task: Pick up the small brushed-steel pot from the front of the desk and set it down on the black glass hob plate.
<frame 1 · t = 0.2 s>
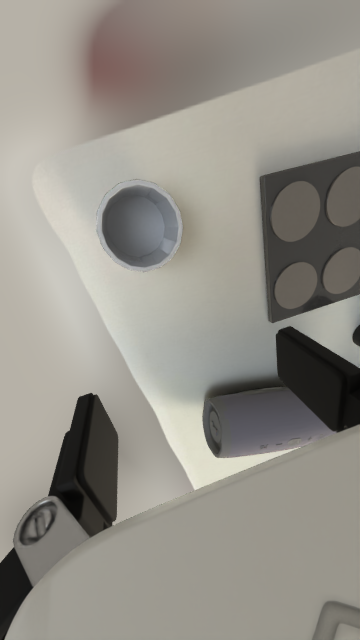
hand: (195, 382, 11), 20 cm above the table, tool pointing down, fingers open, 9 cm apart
pot: (136, 227, 26), on the table
hob: (314, 243, 33), on the table
bluetooth speaker: (257, 395, 42), on the table
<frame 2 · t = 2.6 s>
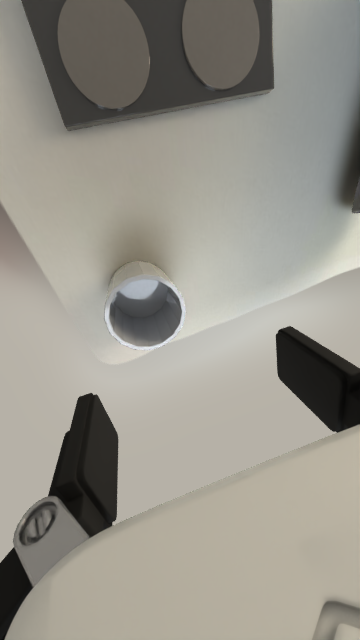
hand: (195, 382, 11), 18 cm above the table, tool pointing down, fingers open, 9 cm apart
pot: (140, 291, 27), on the table
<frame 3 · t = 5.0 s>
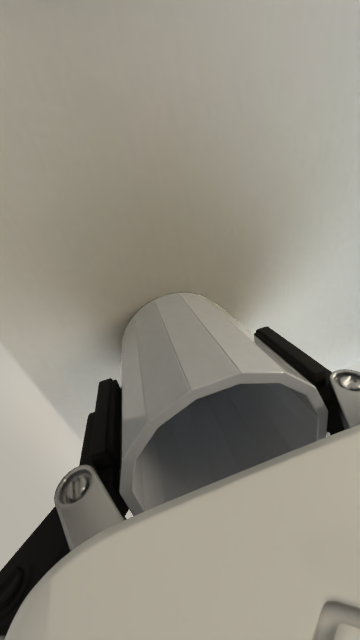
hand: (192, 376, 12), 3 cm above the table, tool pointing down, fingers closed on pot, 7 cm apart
pot: (178, 346, 15), on the table, touching gripper
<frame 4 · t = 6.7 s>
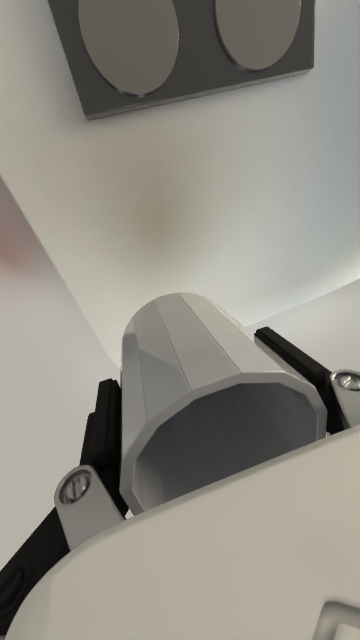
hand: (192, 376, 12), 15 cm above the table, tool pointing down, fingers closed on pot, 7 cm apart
pot: (178, 346, 15), point 12 cm above the table, touching gripper
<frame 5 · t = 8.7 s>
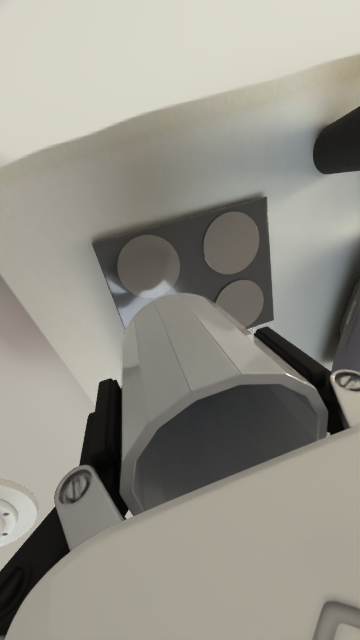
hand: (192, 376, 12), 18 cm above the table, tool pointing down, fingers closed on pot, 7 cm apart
pot: (178, 346, 15), point 14 cm above the table, touching gripper
drinking cup: (329, 150, 26), on the table
hob: (195, 286, 29), on the table
bluetooth speaker: (354, 305, 36), on the table
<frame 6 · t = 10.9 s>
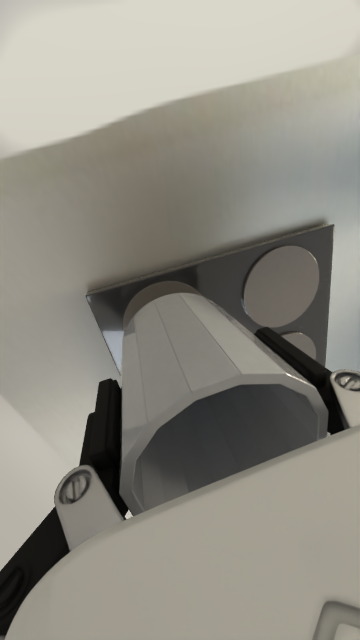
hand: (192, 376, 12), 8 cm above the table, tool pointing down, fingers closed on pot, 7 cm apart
pot: (178, 346, 15), point 5 cm above the table, touching gripper
hob: (227, 340, 21), on the table
when the fingers open (5 cm above the table, at t = 12.5 s): pot stays where it is, resting on hob.
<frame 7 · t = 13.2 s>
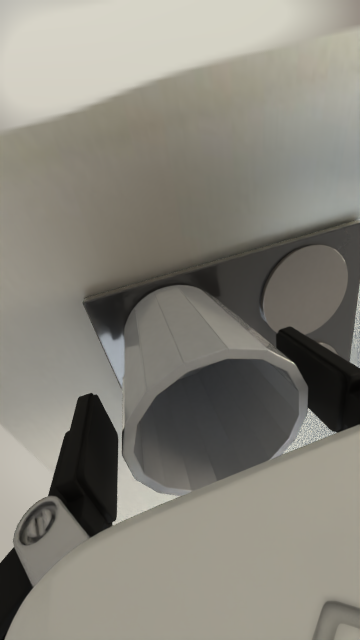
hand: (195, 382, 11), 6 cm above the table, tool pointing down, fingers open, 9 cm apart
pot: (177, 336, 16), point 1 cm above the table, touching hob
hob: (241, 350, 19), on the table
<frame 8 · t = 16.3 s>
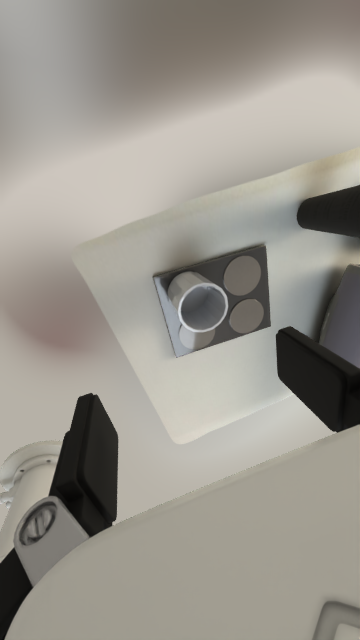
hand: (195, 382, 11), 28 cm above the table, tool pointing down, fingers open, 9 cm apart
pot: (188, 292, 38), point 1 cm above the table, touching hob
drinking cup: (308, 213, 39), on the table
hob: (216, 303, 42), on the table
bluetooth speaker: (330, 315, 50), on the table
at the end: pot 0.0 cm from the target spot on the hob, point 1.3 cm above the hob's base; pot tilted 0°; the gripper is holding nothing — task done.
